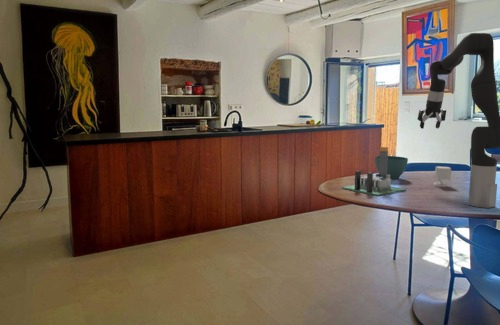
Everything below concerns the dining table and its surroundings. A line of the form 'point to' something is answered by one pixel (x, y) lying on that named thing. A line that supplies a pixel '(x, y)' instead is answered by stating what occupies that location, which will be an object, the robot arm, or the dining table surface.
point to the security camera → (442, 175)
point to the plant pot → (393, 166)
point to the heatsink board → (373, 185)
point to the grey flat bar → (383, 162)
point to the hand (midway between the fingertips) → (429, 128)
